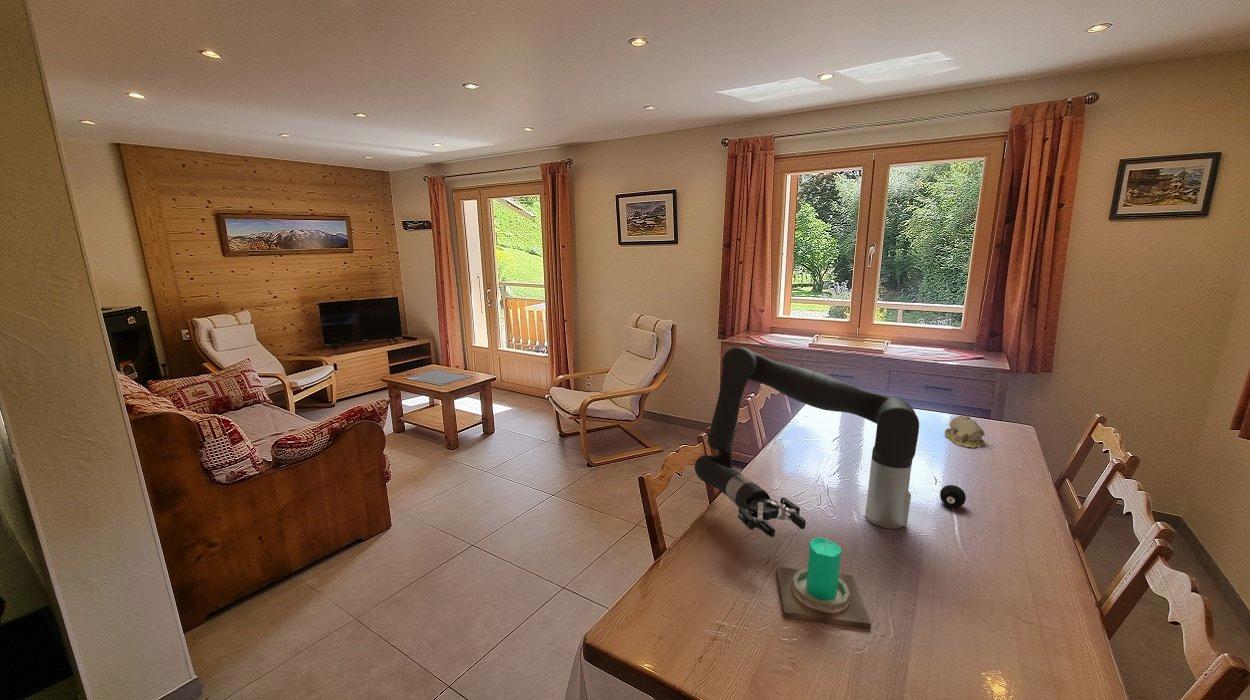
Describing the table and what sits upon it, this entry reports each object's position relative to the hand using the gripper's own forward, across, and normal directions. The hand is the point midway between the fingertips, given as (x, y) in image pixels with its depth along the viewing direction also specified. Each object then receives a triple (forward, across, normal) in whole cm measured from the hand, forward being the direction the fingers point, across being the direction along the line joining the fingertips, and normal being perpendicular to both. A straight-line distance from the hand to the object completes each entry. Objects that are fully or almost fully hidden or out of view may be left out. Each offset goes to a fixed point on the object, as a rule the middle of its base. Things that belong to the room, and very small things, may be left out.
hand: (789, 529), depth 108 cm
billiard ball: (-4, +61, +10) cm, 62 cm away
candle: (+10, 0, +8) cm, 13 cm away
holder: (+10, 0, +10) cm, 14 cm away
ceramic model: (-34, +110, +10) cm, 116 cm away
